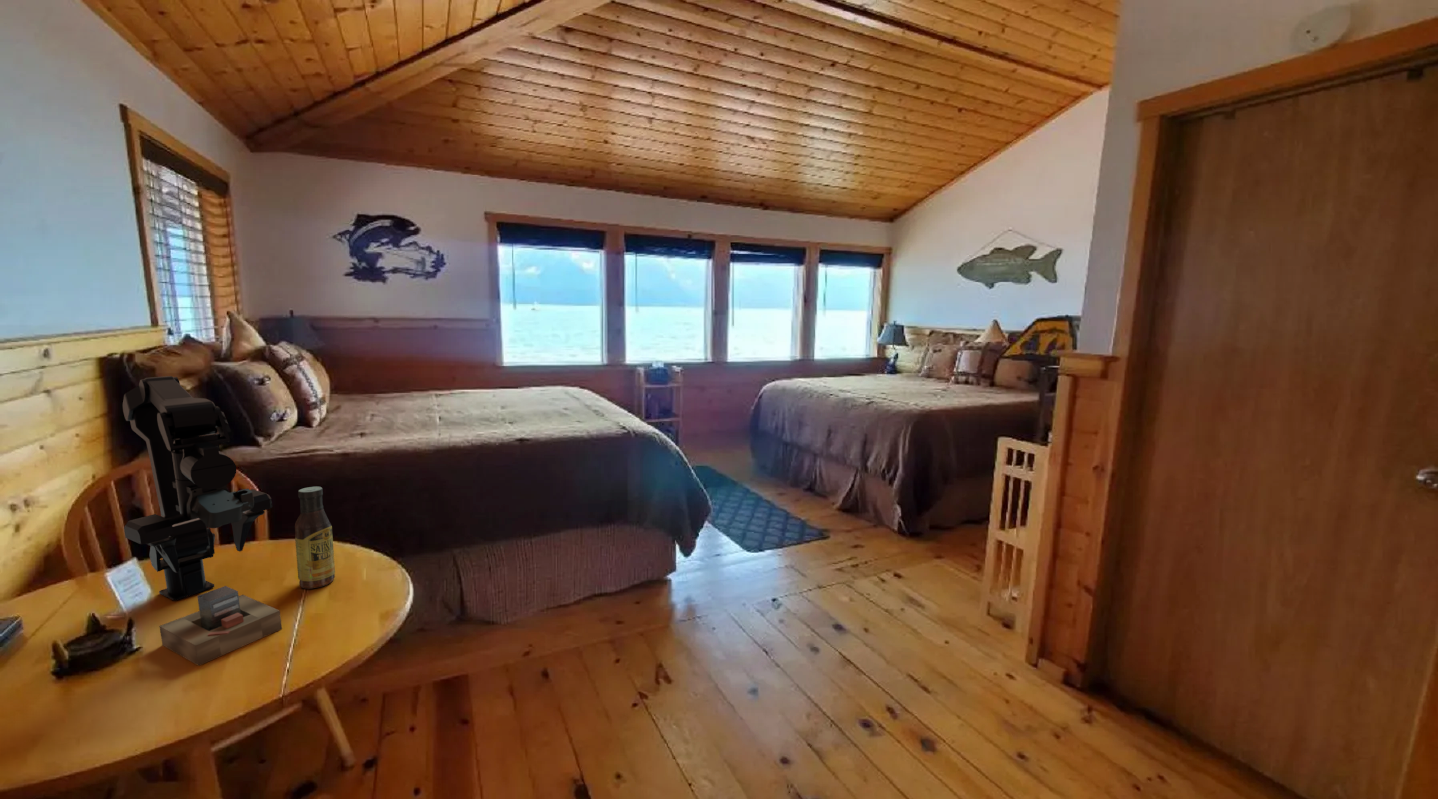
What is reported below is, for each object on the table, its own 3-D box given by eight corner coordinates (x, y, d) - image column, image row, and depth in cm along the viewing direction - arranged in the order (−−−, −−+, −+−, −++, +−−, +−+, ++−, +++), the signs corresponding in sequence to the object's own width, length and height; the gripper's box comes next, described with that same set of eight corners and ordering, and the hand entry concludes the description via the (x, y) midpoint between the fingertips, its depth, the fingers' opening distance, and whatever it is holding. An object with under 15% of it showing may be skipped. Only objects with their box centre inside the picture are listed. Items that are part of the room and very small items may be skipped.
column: (202, 639, 101) (196, 595, 100) (230, 627, 105) (224, 585, 103) (216, 646, 99) (210, 602, 98) (244, 634, 103) (238, 591, 101)
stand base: (162, 645, 99) (158, 619, 98) (245, 612, 110) (242, 588, 109) (200, 666, 94) (196, 639, 93) (283, 629, 104) (280, 605, 103)
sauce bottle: (317, 592, 118) (307, 496, 114) (291, 588, 119) (280, 493, 115) (344, 577, 124) (335, 485, 120) (319, 574, 125) (309, 483, 122)
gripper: (151, 501, 89) (165, 596, 92) (285, 468, 106) (294, 550, 108) (115, 487, 94) (130, 579, 97) (250, 459, 110) (259, 537, 113)
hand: (209, 560), depth 104 cm, fingers open, 9 cm apart
